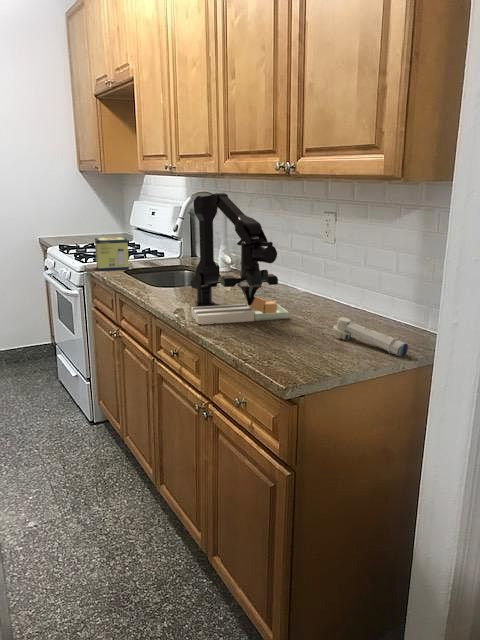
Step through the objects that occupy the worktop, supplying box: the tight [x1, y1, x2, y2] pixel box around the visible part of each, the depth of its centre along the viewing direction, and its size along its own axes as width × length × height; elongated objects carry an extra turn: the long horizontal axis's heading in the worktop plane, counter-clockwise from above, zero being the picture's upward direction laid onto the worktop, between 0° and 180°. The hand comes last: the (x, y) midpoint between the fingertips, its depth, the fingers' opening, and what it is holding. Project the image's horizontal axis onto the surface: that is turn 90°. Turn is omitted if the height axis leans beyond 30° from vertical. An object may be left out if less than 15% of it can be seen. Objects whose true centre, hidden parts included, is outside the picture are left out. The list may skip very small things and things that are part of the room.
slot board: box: [191, 303, 255, 325], centre depth 186 cm, size 12×19×4 cm, turn 105°
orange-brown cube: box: [247, 295, 267, 312], centre depth 189 cm, size 4×4×4 cm
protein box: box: [94, 236, 130, 272], centre depth 279 cm, size 10×16×16 cm
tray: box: [247, 303, 290, 322], centre depth 191 cm, size 12×12×2 cm
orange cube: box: [262, 300, 277, 314], centre depth 190 cm, size 4×4×4 cm
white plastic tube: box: [332, 316, 410, 358], centre depth 158 cm, size 5×7×25 cm
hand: (249, 305), depth 188 cm, fingers closed
